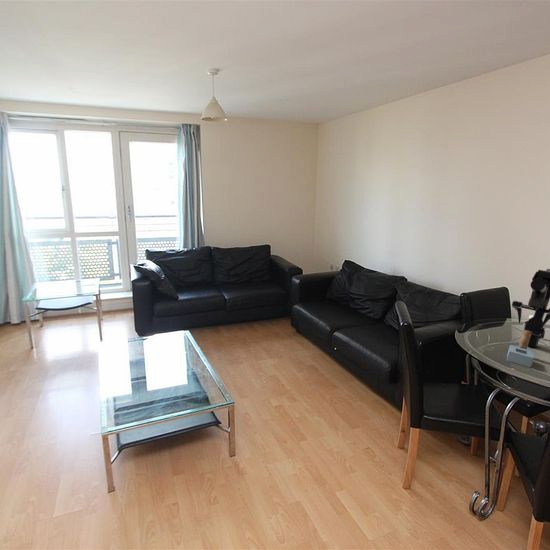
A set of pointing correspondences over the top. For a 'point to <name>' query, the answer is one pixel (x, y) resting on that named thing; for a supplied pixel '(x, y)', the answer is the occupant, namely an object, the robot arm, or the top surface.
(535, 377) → the top surface
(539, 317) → the robot arm
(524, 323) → the grandmother figurine
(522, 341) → the walnut peg
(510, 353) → the hole block
